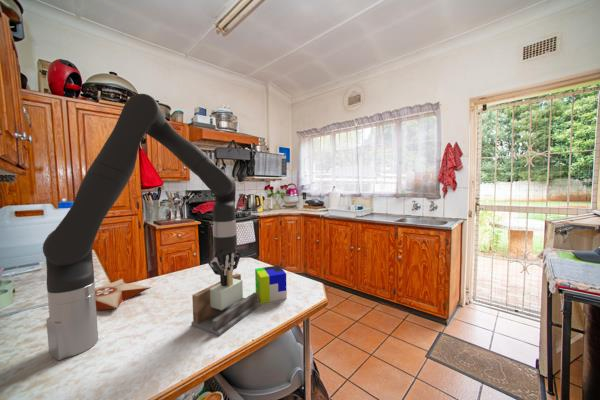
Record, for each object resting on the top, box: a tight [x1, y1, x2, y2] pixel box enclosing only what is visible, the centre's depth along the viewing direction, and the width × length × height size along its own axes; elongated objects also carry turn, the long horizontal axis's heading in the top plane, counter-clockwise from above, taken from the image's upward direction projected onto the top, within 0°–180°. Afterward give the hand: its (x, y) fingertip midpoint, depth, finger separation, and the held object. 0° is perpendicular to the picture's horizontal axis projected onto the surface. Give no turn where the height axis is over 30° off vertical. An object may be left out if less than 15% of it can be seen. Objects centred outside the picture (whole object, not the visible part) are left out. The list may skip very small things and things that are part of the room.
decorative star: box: [95, 278, 152, 311], centre depth 92 cm, size 28×4×30 cm
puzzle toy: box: [254, 264, 288, 304], centre depth 95 cm, size 10×10×10 cm
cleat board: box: [191, 273, 262, 337], centre depth 81 cm, size 20×12×10 cm, turn 153°
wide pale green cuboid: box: [210, 269, 244, 310], centre depth 81 cm, size 10×5×11 cm, turn 153°
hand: (226, 284), depth 81 cm, fingers closed on wide pale green cuboid, 1 cm apart
